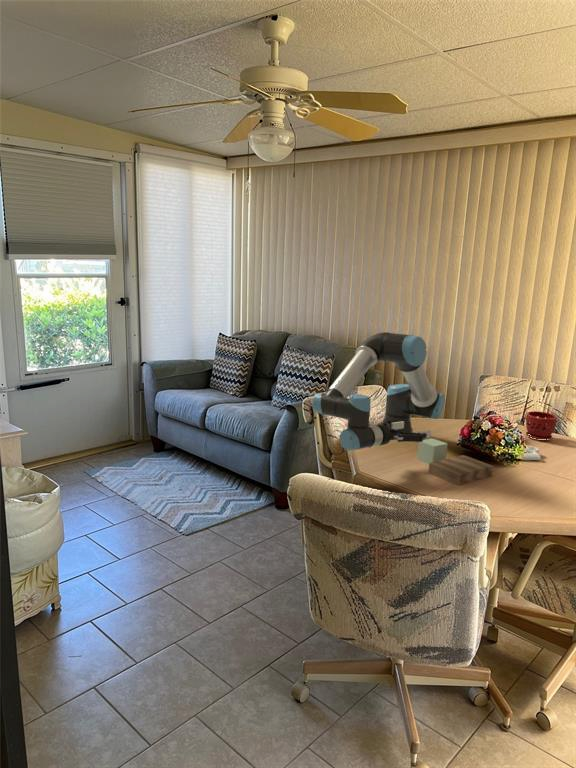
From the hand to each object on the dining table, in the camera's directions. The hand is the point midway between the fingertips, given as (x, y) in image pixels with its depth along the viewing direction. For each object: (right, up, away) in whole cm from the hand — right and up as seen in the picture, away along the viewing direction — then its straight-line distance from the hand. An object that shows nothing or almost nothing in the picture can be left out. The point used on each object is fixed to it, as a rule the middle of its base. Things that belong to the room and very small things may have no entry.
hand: (416, 429), depth 221 cm
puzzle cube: (+48, -8, +50) cm, 69 cm away
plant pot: (+70, -9, +50) cm, 86 cm away
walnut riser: (+16, -17, -5) cm, 23 cm away
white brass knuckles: (+49, -14, +23) cm, 56 cm away
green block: (+8, -14, +9) cm, 18 cm away
